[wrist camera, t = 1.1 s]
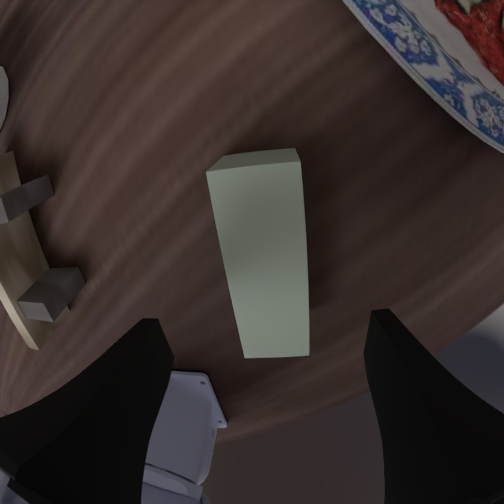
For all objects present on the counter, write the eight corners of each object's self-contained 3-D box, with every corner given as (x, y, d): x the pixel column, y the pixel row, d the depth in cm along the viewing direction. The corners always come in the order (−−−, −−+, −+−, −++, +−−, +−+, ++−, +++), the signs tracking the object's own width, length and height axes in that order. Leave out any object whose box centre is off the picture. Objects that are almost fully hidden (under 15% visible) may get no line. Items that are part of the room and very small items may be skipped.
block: (294, 147, 13) (300, 161, 10) (305, 308, 18) (309, 355, 14) (224, 154, 14) (205, 171, 10) (251, 312, 18) (244, 358, 15)
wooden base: (99, 313, 20) (68, 357, 15) (59, 310, 21) (29, 347, 16) (40, 135, 13) (-16, 154, 9) (3, 155, 14) (-45, 176, 10)
